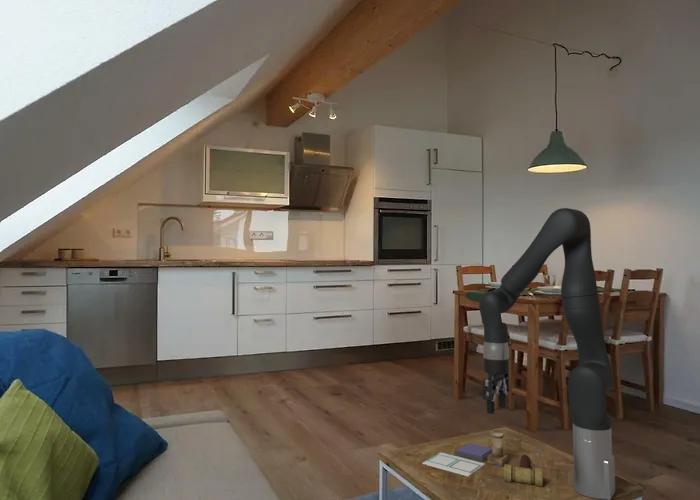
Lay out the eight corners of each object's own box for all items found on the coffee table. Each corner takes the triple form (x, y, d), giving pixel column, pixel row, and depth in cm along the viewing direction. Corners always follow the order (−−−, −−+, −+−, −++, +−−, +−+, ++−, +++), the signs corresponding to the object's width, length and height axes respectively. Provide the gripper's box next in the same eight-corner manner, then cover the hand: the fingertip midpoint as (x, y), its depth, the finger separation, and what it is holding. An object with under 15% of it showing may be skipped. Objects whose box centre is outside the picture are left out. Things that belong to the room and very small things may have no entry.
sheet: (485, 464, 151) (484, 463, 151) (468, 476, 142) (468, 475, 142) (440, 453, 160) (440, 452, 160) (422, 463, 152) (422, 462, 152)
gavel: (508, 446, 158) (542, 450, 154) (508, 461, 157) (542, 466, 154) (503, 466, 138) (542, 471, 135) (503, 484, 138) (542, 489, 134)
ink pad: (494, 453, 160) (494, 448, 160) (482, 461, 153) (482, 456, 153) (468, 447, 166) (468, 442, 166) (455, 455, 159) (455, 449, 159)
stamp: (507, 462, 152) (507, 431, 153) (501, 467, 149) (501, 435, 149) (493, 459, 155) (493, 429, 155) (487, 463, 152) (487, 432, 152)
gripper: (498, 361, 145) (498, 418, 145) (517, 354, 156) (517, 407, 156) (474, 358, 150) (474, 413, 149) (494, 352, 161) (494, 403, 160)
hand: (496, 410), depth 153 cm, fingers open, 8 cm apart
